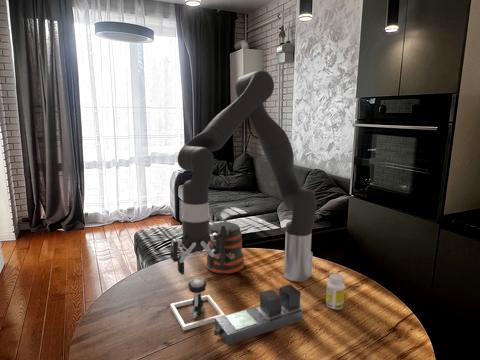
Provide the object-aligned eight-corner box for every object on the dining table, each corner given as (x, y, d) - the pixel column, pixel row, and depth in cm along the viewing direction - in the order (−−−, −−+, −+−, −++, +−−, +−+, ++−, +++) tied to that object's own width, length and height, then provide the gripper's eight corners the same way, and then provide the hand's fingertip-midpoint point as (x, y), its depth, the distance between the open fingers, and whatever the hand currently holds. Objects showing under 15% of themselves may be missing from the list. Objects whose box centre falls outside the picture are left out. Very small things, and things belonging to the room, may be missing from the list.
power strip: (289, 305, 106) (290, 281, 104) (305, 319, 99) (306, 293, 97) (209, 329, 93) (209, 302, 92) (221, 347, 86) (221, 318, 85)
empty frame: (208, 297, 109) (208, 294, 109) (225, 318, 98) (225, 314, 98) (170, 307, 104) (170, 304, 103) (183, 330, 93) (183, 326, 93)
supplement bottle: (344, 303, 107) (346, 274, 106) (341, 311, 103) (344, 282, 101) (327, 299, 110) (329, 270, 108) (323, 307, 105) (325, 278, 103)
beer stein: (245, 280, 121) (246, 227, 117) (204, 281, 121) (204, 227, 117) (243, 258, 140) (243, 211, 136) (207, 258, 139) (207, 211, 135)
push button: (203, 320, 98) (202, 288, 96) (185, 318, 98) (184, 287, 96) (208, 307, 104) (208, 277, 102) (191, 306, 105) (190, 276, 103)
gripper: (213, 210, 102) (213, 261, 105) (167, 216, 96) (168, 270, 99) (224, 217, 95) (223, 271, 99) (175, 224, 89) (175, 281, 92)
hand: (196, 270), depth 99 cm, fingers open, 8 cm apart
